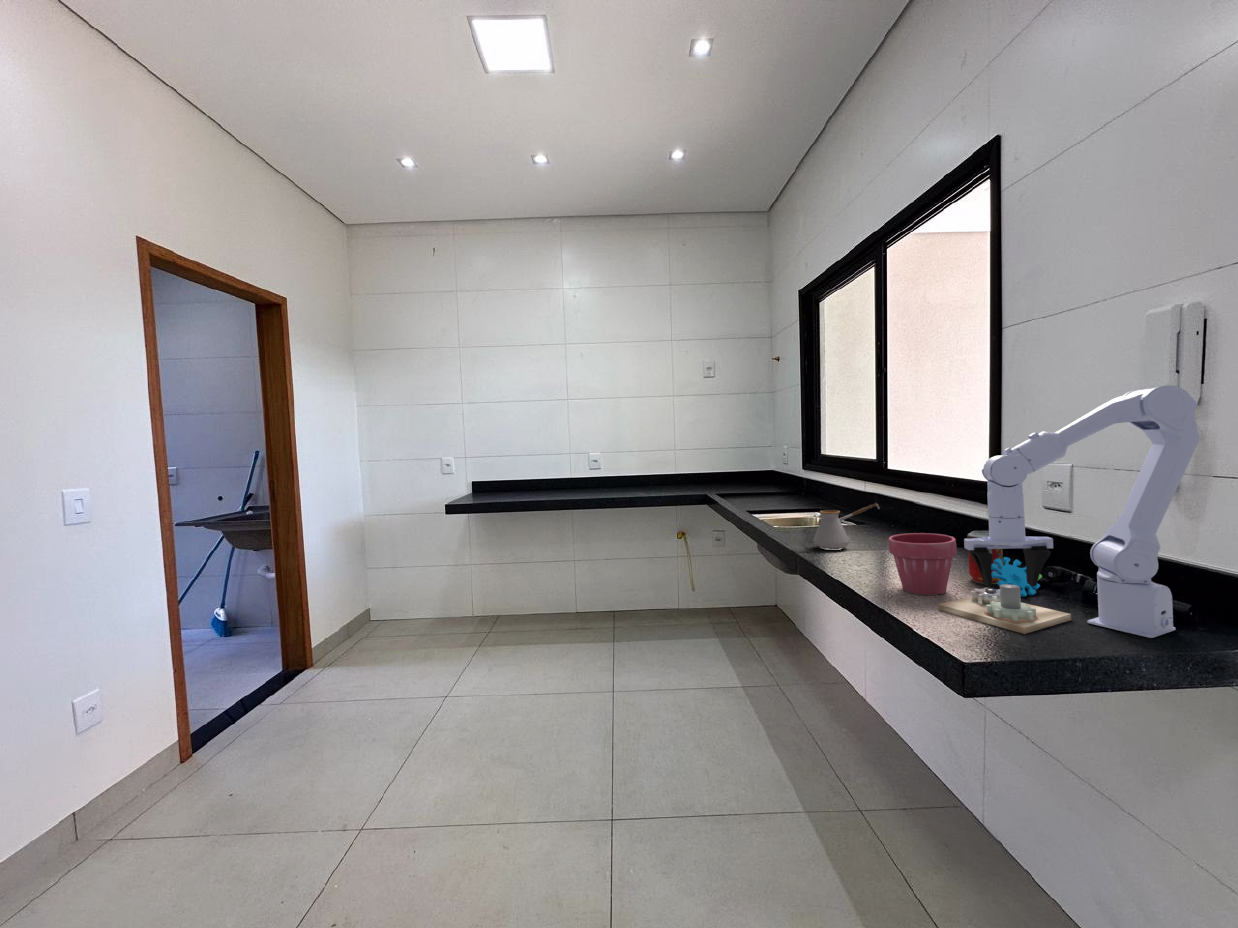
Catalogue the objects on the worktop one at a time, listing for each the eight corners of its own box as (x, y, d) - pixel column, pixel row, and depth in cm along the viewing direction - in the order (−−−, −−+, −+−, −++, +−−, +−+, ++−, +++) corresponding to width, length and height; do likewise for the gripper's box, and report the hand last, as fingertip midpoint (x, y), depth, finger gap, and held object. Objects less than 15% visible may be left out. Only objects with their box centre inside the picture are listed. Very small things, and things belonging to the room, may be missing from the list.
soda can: (1006, 585, 126) (1004, 534, 126) (971, 583, 130) (968, 534, 129) (1001, 578, 133) (998, 529, 132) (967, 576, 136) (965, 529, 136)
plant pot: (877, 586, 133) (875, 535, 133) (925, 579, 136) (923, 530, 135) (921, 601, 119) (918, 545, 119) (973, 594, 122) (971, 539, 121)
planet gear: (1046, 616, 101) (1045, 588, 101) (1017, 623, 99) (1015, 594, 99) (1005, 605, 109) (1004, 579, 109) (977, 611, 106) (976, 584, 106)
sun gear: (1018, 602, 111) (1018, 590, 111) (997, 608, 108) (996, 595, 108) (985, 594, 117) (985, 583, 117) (964, 600, 114) (963, 588, 114)
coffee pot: (816, 552, 175) (814, 507, 175) (811, 545, 186) (809, 503, 186) (886, 551, 170) (883, 505, 170) (876, 544, 182) (874, 501, 181)
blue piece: (1002, 591, 117) (985, 553, 124) (988, 604, 121) (973, 567, 128) (1054, 596, 117) (1034, 557, 123) (1038, 608, 121) (1020, 571, 128)
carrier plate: (1071, 620, 102) (1070, 613, 102) (1024, 633, 97) (1024, 626, 97) (982, 598, 118) (982, 592, 118) (938, 609, 113) (938, 603, 113)
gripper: (973, 520, 101) (976, 590, 102) (1061, 517, 98) (1064, 590, 98) (958, 515, 108) (962, 581, 109) (1040, 512, 105) (1043, 580, 105)
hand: (1009, 584), depth 104 cm, fingers open, 7 cm apart
